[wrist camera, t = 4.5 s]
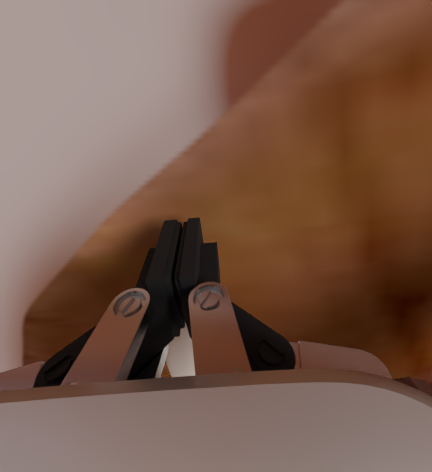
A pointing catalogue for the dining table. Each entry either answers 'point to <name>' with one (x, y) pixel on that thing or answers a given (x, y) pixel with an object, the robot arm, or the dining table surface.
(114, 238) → the dining table surface
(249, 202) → the dining table surface
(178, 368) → the cue ball
